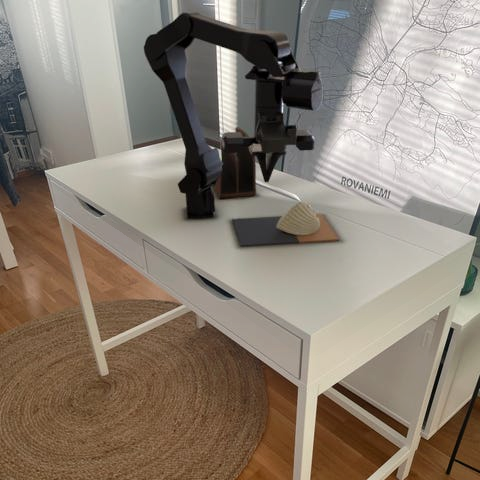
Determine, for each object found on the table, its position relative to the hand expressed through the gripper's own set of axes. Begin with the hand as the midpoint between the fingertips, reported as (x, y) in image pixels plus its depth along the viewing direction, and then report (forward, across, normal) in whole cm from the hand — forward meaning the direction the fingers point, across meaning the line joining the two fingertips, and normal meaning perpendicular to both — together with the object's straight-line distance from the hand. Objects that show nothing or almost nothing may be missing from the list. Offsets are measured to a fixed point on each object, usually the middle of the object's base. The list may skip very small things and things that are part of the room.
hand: (266, 181), depth 106 cm
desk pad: (+11, +4, -1) cm, 12 cm away
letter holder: (+11, -5, +30) cm, 33 cm away
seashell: (+11, +8, -2) cm, 13 cm away
